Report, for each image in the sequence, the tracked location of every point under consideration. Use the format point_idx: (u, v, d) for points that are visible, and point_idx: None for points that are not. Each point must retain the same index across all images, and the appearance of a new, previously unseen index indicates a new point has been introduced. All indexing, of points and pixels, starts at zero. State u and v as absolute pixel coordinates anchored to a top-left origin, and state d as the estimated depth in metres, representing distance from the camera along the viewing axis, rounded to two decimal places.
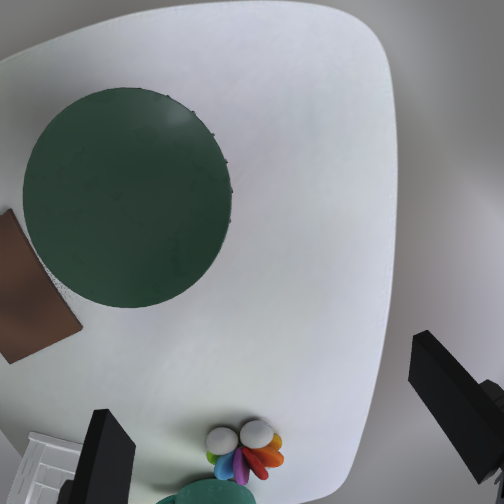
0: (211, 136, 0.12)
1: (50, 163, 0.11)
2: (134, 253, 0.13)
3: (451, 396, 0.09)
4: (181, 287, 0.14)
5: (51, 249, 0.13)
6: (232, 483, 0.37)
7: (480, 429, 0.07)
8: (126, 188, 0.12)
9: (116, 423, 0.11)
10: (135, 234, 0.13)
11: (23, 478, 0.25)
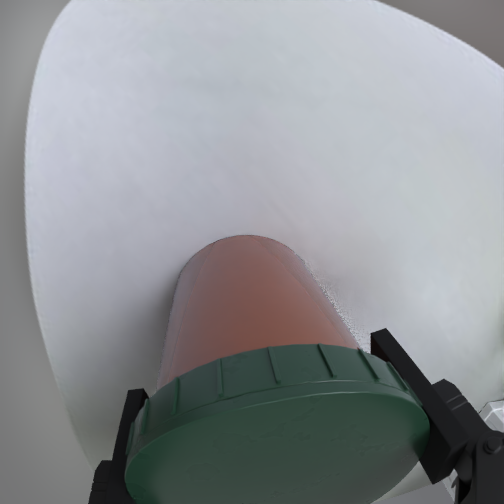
0: (225, 414, 0.06)
1: None
2: (355, 478, 0.08)
3: None
4: (424, 437, 0.08)
5: None
6: None
7: None
8: (271, 488, 0.07)
9: None
10: (334, 480, 0.08)
11: None
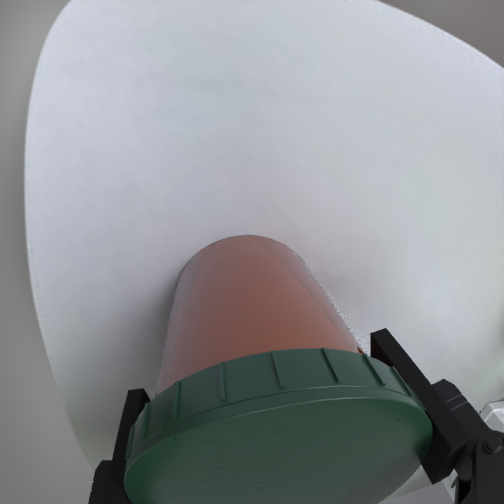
0: None
1: None
2: (288, 467, 0.07)
3: None
4: (224, 426, 0.06)
5: (408, 457, 0.08)
6: None
7: None
8: None
9: None
10: (275, 481, 0.07)
11: None
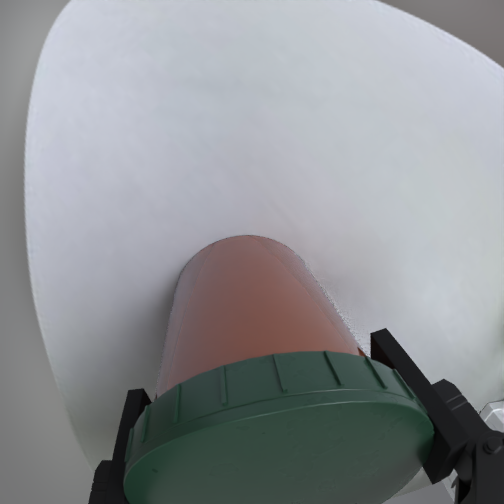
0: None
1: (391, 444, 0.07)
2: None
3: None
4: None
5: (257, 441, 0.06)
6: None
7: None
8: None
9: (150, 403, 0.12)
10: None
11: None
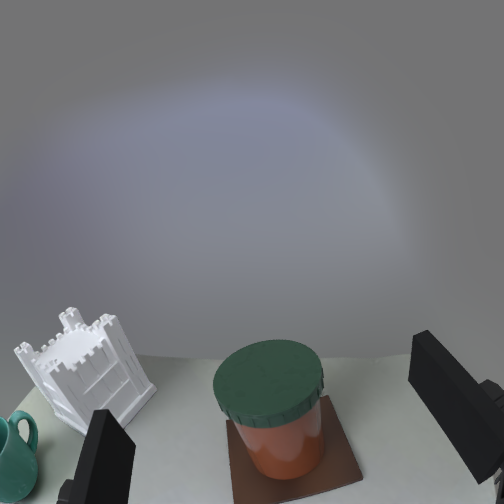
0: (213, 388, 0.27)
1: (294, 392, 0.24)
2: (266, 356, 0.29)
3: (451, 396, 0.09)
4: (253, 345, 0.32)
5: (309, 360, 0.27)
6: (16, 500, 0.23)
7: (480, 429, 0.07)
8: (258, 377, 0.27)
9: (116, 423, 0.11)
10: (262, 362, 0.29)
11: (126, 354, 0.43)
